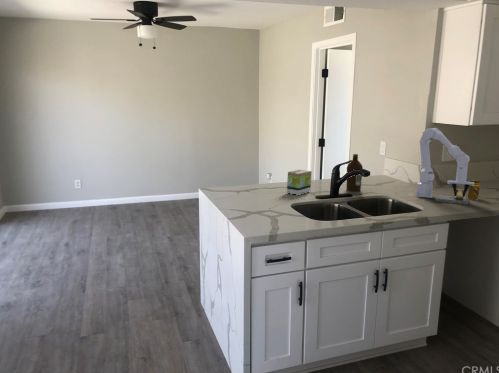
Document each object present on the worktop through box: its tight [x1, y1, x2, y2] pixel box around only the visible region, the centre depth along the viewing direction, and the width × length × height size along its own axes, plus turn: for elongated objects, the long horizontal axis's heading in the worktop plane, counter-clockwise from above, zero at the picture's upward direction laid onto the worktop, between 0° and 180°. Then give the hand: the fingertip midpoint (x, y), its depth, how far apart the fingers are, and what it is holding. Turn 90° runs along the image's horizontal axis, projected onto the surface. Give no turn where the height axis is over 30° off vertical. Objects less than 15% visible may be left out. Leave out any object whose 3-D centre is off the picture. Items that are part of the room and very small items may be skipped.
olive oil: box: [346, 153, 364, 192], centre depth 289 cm, size 11×11×25 cm
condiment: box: [464, 179, 480, 201], centre depth 269 cm, size 7×8×12 cm
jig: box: [435, 194, 470, 206], centre depth 262 cm, size 18×11×2 cm, turn 67°
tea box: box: [286, 169, 312, 196], centre depth 280 cm, size 15×10×15 cm, turn 143°
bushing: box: [455, 188, 464, 200], centre depth 260 cm, size 4×4×6 cm
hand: (459, 196), depth 260 cm, fingers closed on bushing, 4 cm apart
